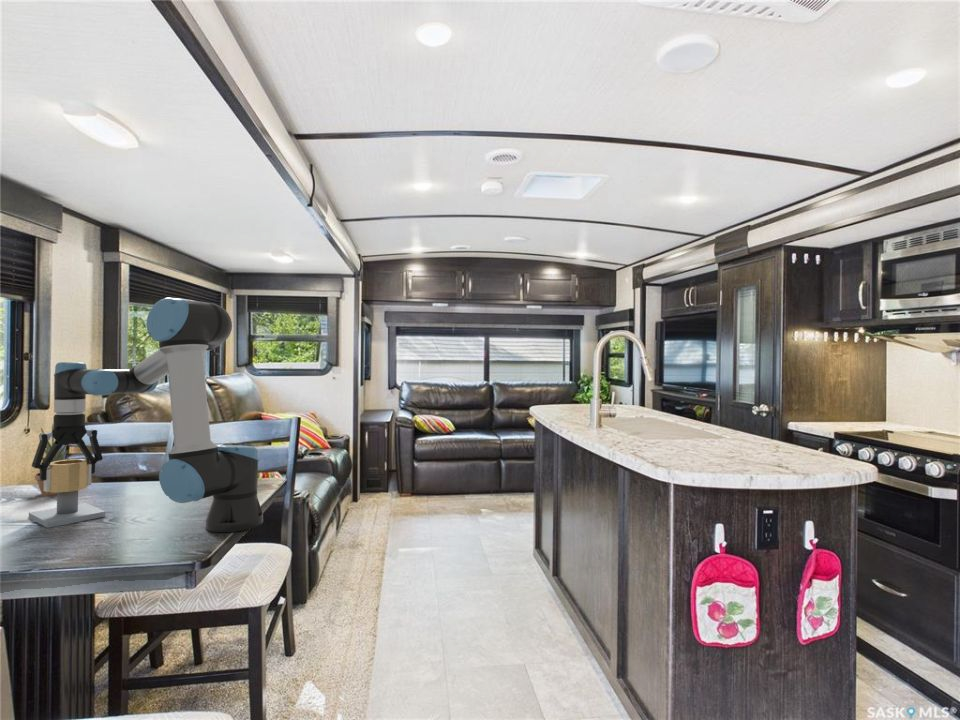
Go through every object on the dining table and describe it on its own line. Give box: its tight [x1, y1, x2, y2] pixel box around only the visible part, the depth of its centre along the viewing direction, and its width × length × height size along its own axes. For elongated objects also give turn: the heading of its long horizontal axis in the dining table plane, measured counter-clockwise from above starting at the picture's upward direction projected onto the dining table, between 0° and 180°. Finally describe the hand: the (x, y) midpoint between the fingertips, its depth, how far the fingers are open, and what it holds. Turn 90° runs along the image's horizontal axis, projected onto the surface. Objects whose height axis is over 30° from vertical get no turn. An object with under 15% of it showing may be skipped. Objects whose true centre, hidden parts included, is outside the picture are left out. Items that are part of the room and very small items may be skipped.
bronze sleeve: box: [48, 458, 89, 493], centre depth 156 cm, size 9×9×8 cm
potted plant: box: [34, 423, 70, 496], centre depth 183 cm, size 10×10×25 cm
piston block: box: [28, 490, 106, 529], centre depth 156 cm, size 16×14×9 cm
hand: (67, 487), depth 156 cm, fingers closed on bronze sleeve, 9 cm apart
